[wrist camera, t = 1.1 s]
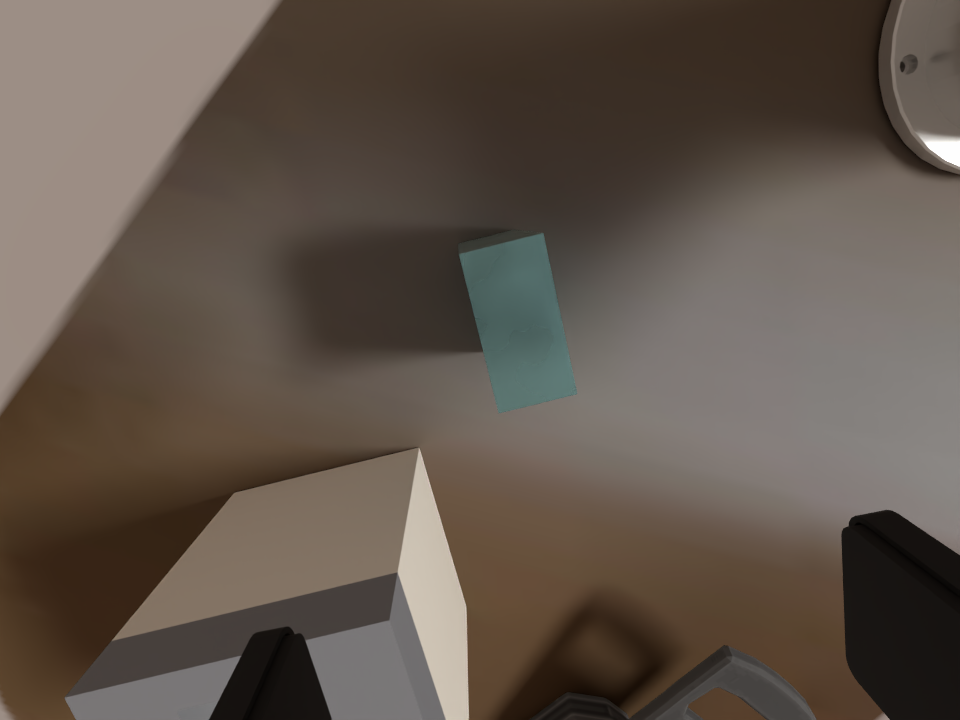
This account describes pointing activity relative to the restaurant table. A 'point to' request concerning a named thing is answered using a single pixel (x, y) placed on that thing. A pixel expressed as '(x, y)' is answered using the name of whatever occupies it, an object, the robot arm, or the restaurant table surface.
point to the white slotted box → (302, 603)
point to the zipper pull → (697, 694)
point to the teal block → (518, 318)
